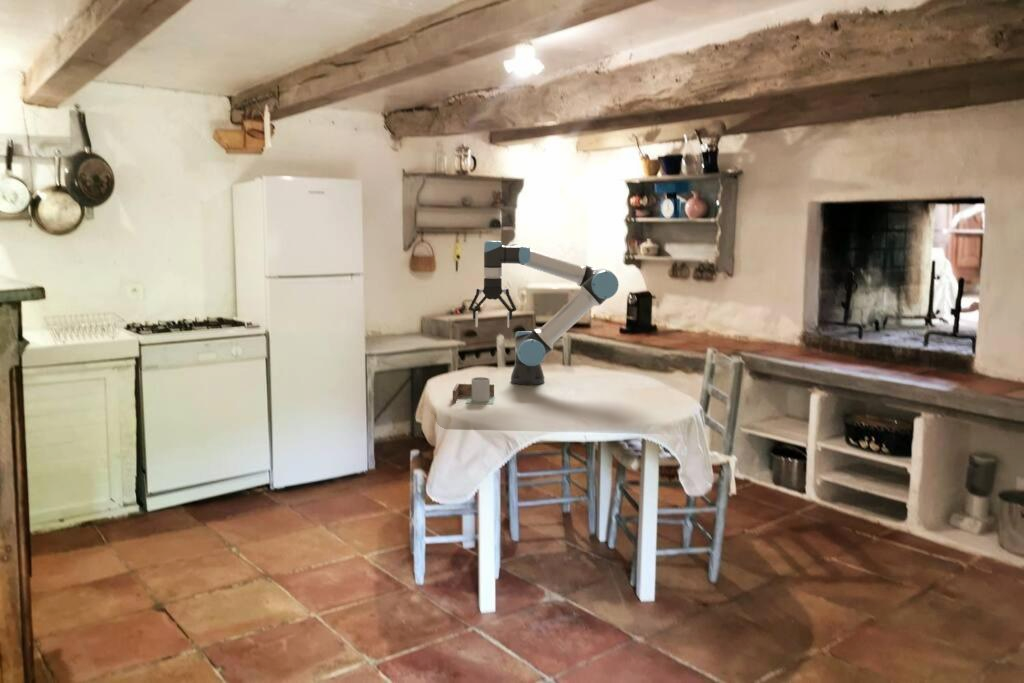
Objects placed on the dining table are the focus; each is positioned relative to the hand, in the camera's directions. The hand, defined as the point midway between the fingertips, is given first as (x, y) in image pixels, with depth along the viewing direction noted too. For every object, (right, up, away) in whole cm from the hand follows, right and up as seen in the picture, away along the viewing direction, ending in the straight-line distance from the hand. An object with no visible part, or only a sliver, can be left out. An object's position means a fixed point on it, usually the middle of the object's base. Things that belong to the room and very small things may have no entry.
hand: (492, 327), depth 340 cm
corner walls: (-7, -30, -17) cm, 35 cm away
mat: (-4, -30, -19) cm, 36 cm away
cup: (-5, -30, -19) cm, 36 cm away
